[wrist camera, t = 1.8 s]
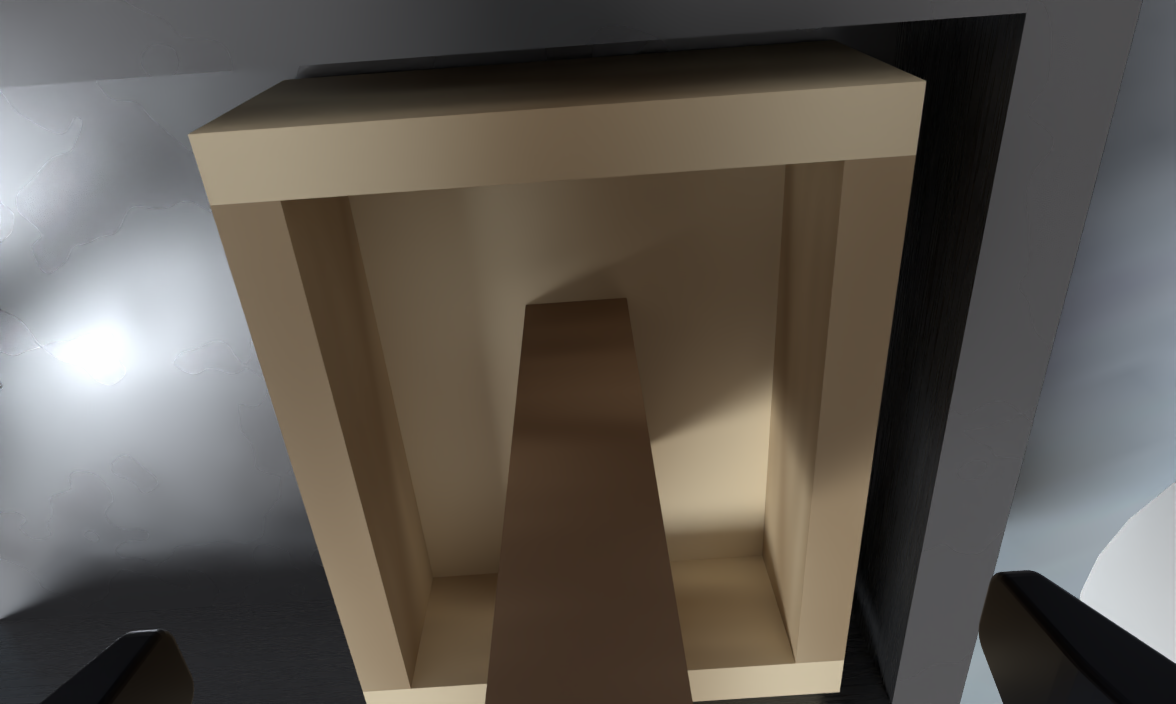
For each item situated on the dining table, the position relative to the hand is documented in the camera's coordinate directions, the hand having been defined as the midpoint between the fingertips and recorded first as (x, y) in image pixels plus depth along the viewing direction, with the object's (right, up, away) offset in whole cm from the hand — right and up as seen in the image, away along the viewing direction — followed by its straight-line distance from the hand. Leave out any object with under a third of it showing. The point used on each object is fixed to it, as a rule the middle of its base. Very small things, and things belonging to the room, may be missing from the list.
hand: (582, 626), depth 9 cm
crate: (0, +3, +5) cm, 6 cm away
